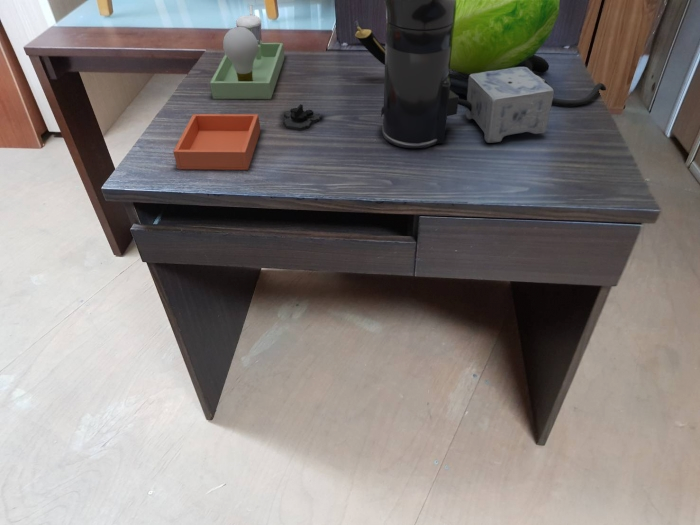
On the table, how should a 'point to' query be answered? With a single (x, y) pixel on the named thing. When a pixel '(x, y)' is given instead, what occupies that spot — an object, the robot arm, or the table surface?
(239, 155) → the terracotta tray
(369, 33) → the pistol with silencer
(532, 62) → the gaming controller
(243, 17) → the milkshake cup
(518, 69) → the incense holder
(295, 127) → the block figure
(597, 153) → the table surface
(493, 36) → the lettuce
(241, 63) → the light bulb
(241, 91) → the green tray
